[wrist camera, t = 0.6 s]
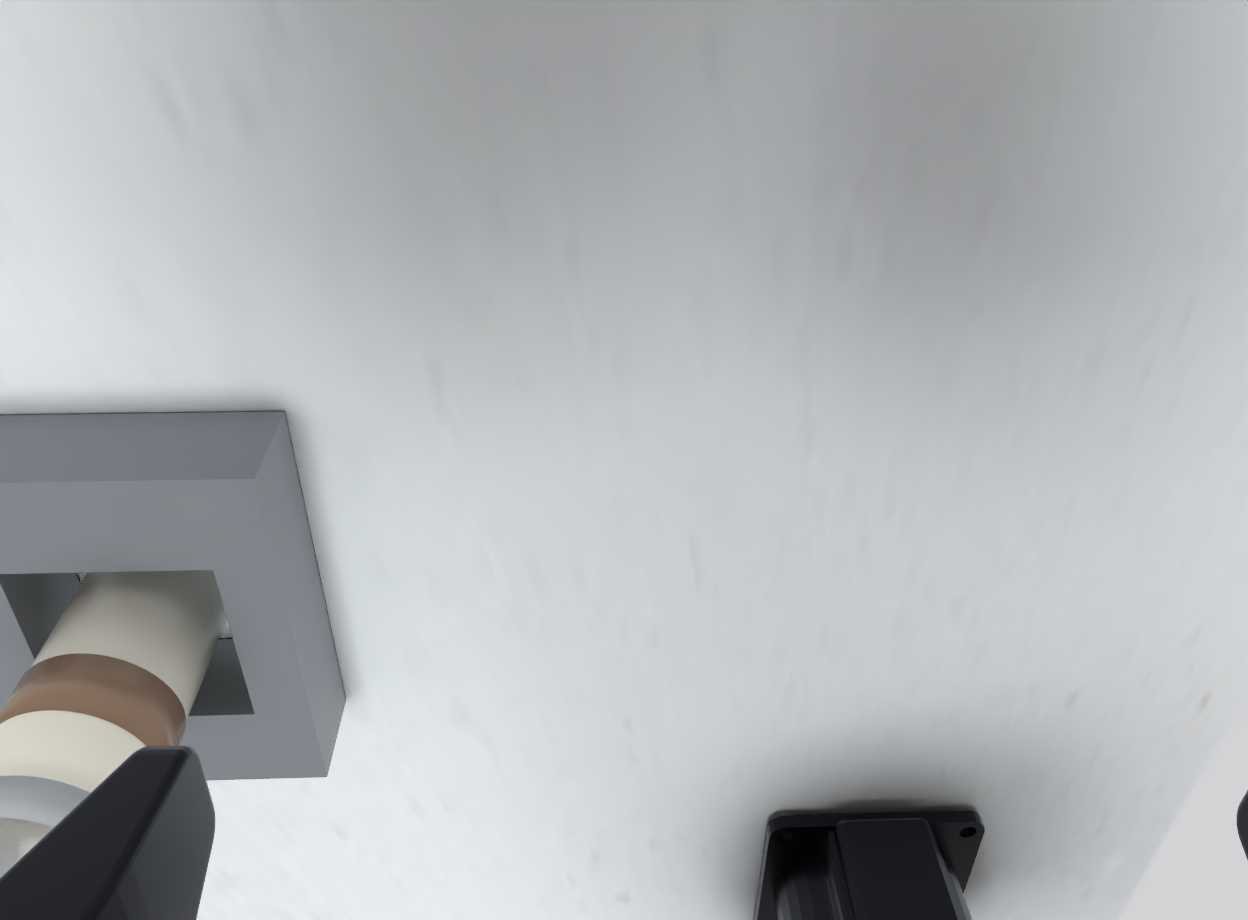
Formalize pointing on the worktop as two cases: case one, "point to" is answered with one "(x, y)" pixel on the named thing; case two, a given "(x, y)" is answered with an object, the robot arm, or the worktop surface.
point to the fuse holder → (180, 565)
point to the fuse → (102, 693)
